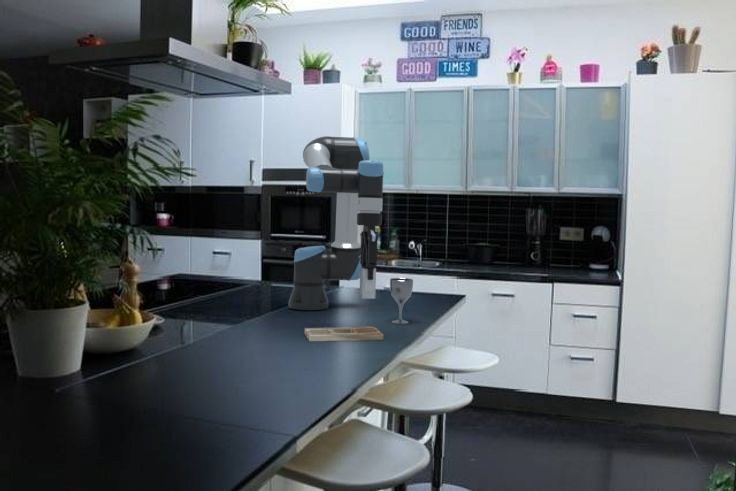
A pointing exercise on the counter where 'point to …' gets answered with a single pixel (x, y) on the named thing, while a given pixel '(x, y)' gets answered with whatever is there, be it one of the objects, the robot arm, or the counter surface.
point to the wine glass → (401, 294)
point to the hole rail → (343, 334)
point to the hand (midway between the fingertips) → (367, 289)
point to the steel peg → (364, 293)
